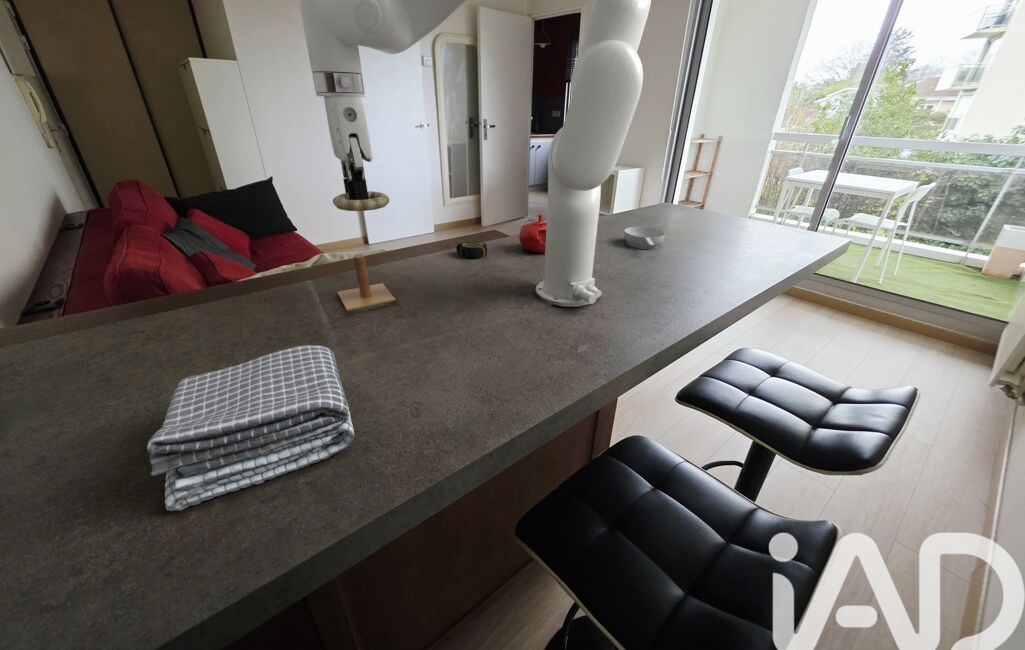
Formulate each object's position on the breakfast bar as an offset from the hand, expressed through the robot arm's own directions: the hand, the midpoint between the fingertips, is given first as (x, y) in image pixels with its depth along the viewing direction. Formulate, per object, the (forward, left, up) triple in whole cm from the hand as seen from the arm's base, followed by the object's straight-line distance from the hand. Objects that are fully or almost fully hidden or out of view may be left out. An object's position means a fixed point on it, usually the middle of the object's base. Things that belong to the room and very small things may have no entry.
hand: (357, 201), depth 76 cm
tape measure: (+9, -27, -18) cm, 34 cm away
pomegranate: (+6, -45, -18) cm, 49 cm away
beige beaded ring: (-4, 0, +1) cm, 4 cm away
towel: (-36, +21, -18) cm, 45 cm away
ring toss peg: (-4, +2, -18) cm, 19 cm away
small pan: (-7, -71, -18) cm, 74 cm away
